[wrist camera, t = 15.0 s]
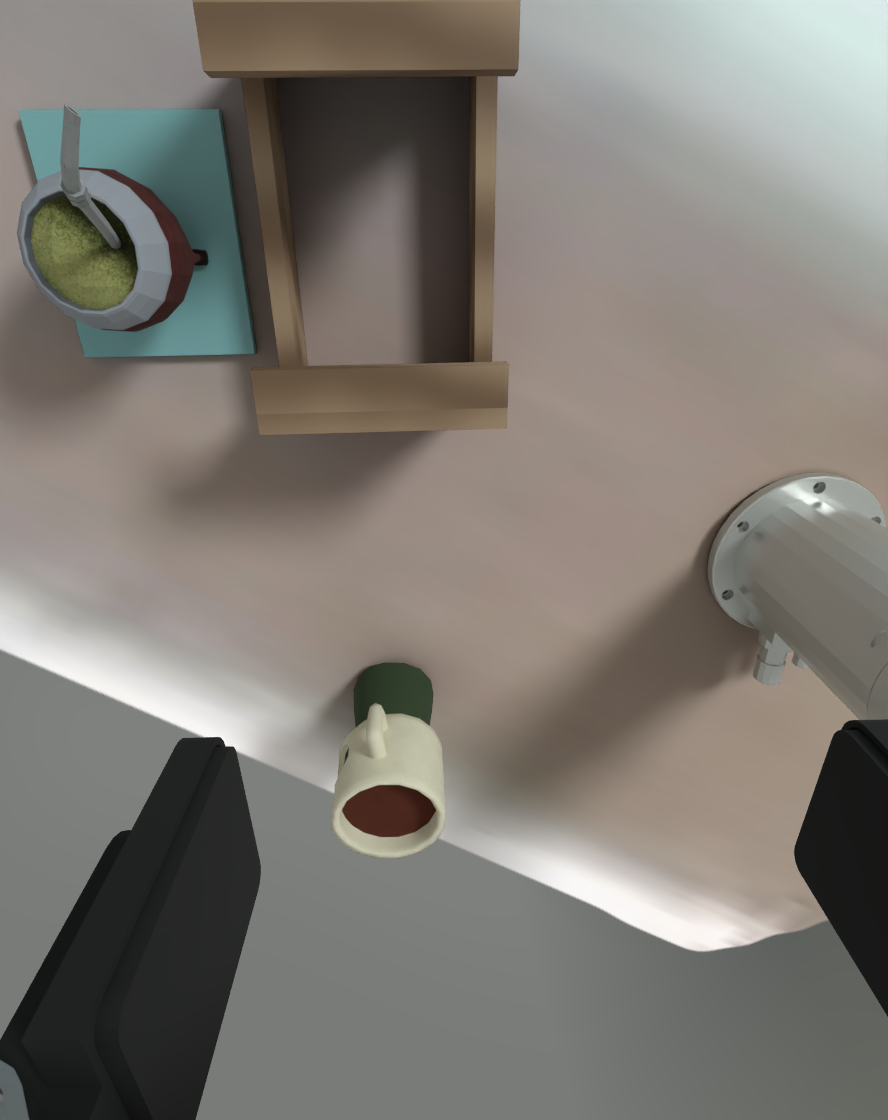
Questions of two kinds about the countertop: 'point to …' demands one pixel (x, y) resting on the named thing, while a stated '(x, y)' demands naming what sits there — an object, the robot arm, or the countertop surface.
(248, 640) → the countertop surface
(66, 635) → the countertop surface
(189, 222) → the teal mat
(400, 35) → the walnut box
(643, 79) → the countertop surface
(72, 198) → the mate gourd
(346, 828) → the character mug
